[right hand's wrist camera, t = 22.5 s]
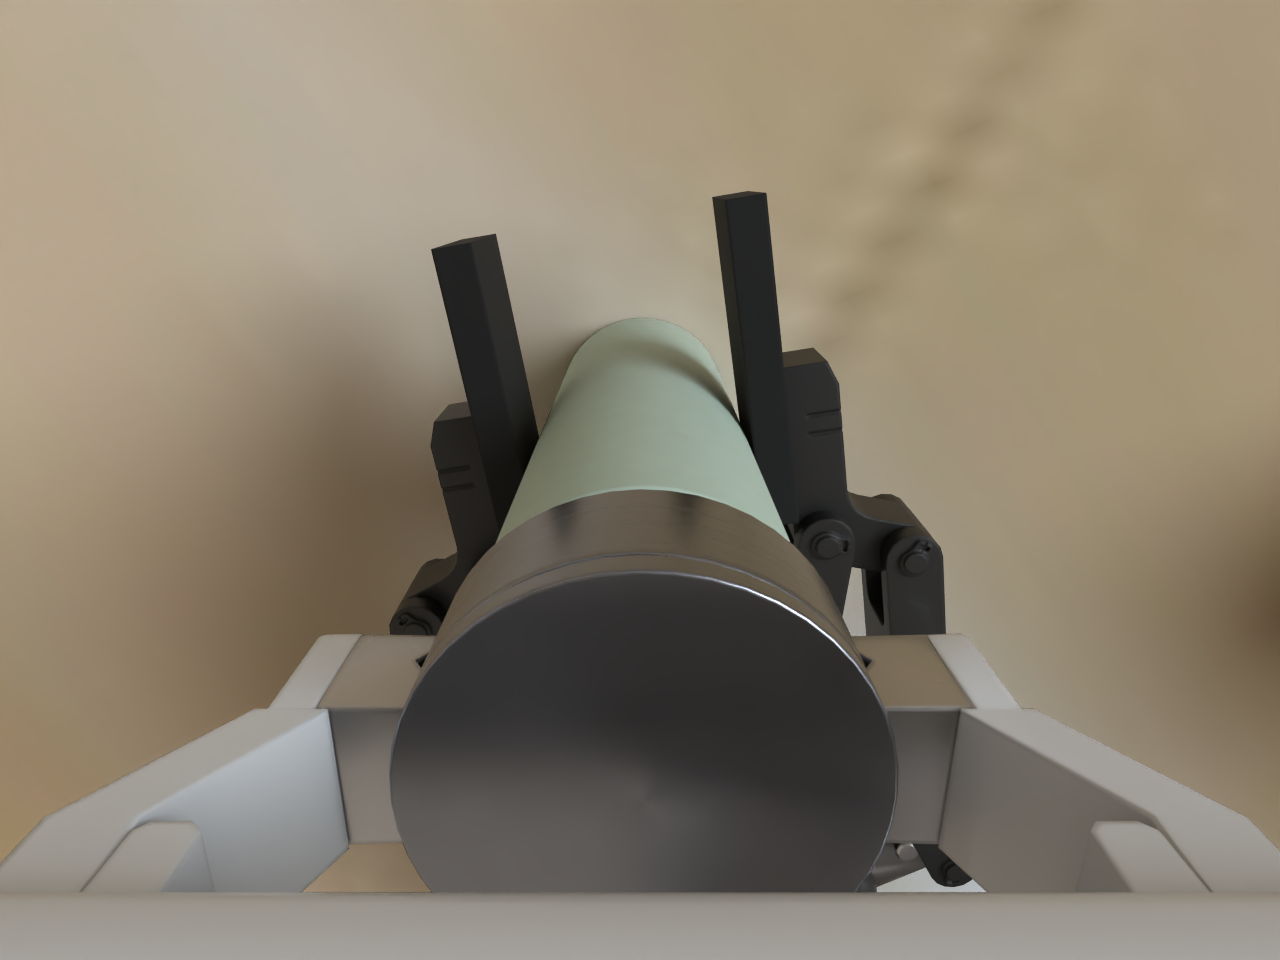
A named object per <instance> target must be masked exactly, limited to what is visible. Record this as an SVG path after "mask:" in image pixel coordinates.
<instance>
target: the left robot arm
mask: <svg viewBox="0 0 1280 960" xmlns="http://www.w3.org/2000/svg"><path fill="white" fill-rule="evenodd" d="M712 198H713V206H714V215H715V223H716V231H717V239H718V247H719V256H720V264H721V272H722V280H723V288H724V297H725V305H726V313H727V321H728V329H729V338H730V346H731V354H732V362H733V370H734V379H735V387H736V395H737V403H738V411H739V420H740V425H741V427H742V429H743V432H744V434H745V436H746V439H747V441H748V444H749V446H750V448H751V451H752V453H753V455H754V458H755V460H756V462H757V465H758V467H759V470H760V472H761V474H762V477H763V479H764V481H765V484H766V486H767V488H768V491H769V493H770V496H771V498H772V500H773V503H774V505H775V507H776V510H777V512H778V514H779V517H780V519H781V522H782V524H783V526H784V529H785V531H786V533H787V536H788V538H789V541H790V543H791V544H793V545H794V546H795V547H796V548H797V549H798V550H799V551H800V552H801V553H802V554H803V556H804V557H805V558H806V559H807V560H808V561H809V562H810V563H811V564H812V565H813V566H814V568H815V569H816V571H817V572H818V574H819V575H820V577H821V578H822V580H823V581H824V582H825V584H826V585H827V587H828V589H829V591H830V593H831V595H832V597H833V599H834V601H835V603H836V605H837V607H838V609H839V611H840V613H841V616H842V615H843V610H844V605H845V599H846V594H847V589H848V584H849V578H850V573H851V568H852V567H855V568H861V571H862V585H863V598H864V611H865V625H866V636H890V635H932V634H946V627H945V598H944V570H943V555H942V551H941V548H940V546H939V545H938V544H937V543H936V541H935V540H934V539H933V538H932V537H931V535H930V534H929V532H928V531H927V530H926V529H925V528H924V526H923V525H922V524H921V523H920V521H919V520H918V519H917V518H916V517H915V515H914V514H913V513H912V512H911V510H910V509H909V508H908V507H907V506H906V505H905V504H904V502H903V501H902V500H901V499H900V498H898V497H896V496H894V495H892V494H880V495H877V496H874V497H867V496H861V495H857V494H853V493H850V492H848V491H847V482H846V469H845V456H844V443H843V432H842V417H841V404H840V391H839V383H838V381H837V379H836V377H835V375H834V373H833V371H832V370H831V368H830V366H829V364H828V362H827V361H826V360H825V359H824V358H823V357H822V356H821V355H820V354H819V353H818V352H817V351H816V350H815V349H814V348H808V349H802V350H795V351H789V352H783V353H782V345H781V335H780V325H779V315H778V305H777V295H776V285H775V275H774V265H773V255H772V245H771V235H770V225H769V215H768V205H767V195H766V193H762V192H751V191H746V192H740V193H734V194H728V195H722V196H716V197H712ZM431 251H432V255H433V259H434V263H435V268H436V272H437V276H438V280H439V284H440V288H441V293H442V297H443V301H444V305H445V309H446V313H447V318H448V322H449V326H450V330H451V334H452V338H453V342H454V347H455V351H456V355H457V359H458V363H459V367H460V372H461V376H462V380H463V384H464V388H465V392H466V397H467V401H468V402H463V403H456V404H450V405H448V407H447V408H446V409H445V410H444V411H443V412H442V414H441V415H440V416H439V417H438V418H437V419H436V421H435V422H434V426H433V433H432V440H431V450H432V454H433V457H434V461H435V465H436V469H437V470H438V476H439V480H440V484H441V488H442V489H443V496H444V499H445V503H446V507H447V511H448V515H449V518H450V522H451V526H452V530H453V534H454V538H455V541H456V545H457V552H456V553H455V554H453V555H451V556H449V557H447V558H445V559H434V560H431V561H428V562H426V563H425V564H424V565H423V566H422V567H421V568H420V570H419V572H418V573H417V575H416V577H415V579H414V580H413V582H412V584H411V586H410V587H409V589H408V591H407V593H406V594H405V596H404V598H403V600H402V601H401V603H400V605H399V607H398V609H397V610H396V612H395V614H394V616H393V618H392V620H391V623H390V635H429V636H437V634H438V631H439V629H440V627H441V625H442V623H443V621H444V618H445V616H446V614H447V612H448V610H449V608H450V605H451V603H452V601H453V599H454V597H455V595H456V593H457V591H458V589H459V588H460V586H461V585H462V583H463V581H464V580H465V578H466V577H467V575H468V574H469V572H470V571H471V569H472V568H473V567H474V566H475V565H476V564H477V562H478V561H479V560H480V559H481V558H482V557H483V555H484V554H485V553H486V552H487V551H488V550H489V549H490V548H491V547H493V546H494V545H495V543H496V541H497V539H498V536H499V534H500V531H501V529H502V527H503V524H504V522H505V519H506V517H507V515H508V512H509V510H510V507H511V505H512V502H513V500H514V498H515V495H516V493H517V490H518V488H519V486H520V483H521V481H522V478H523V476H524V474H525V471H526V469H527V466H528V464H529V461H530V459H531V457H532V454H533V452H534V449H535V447H536V445H537V442H538V440H539V435H538V430H537V425H536V421H535V416H534V411H533V407H532V402H531V397H530V392H529V388H528V383H527V378H526V374H525V369H524V364H523V359H522V355H521V350H520V345H519V341H518V336H517V331H516V327H515V322H514V317H513V312H512V308H511V303H510V298H509V294H508V289H507V284H506V280H505V275H504V270H503V265H502V261H501V256H500V251H499V247H498V242H497V237H496V234H491V235H486V236H480V237H474V238H468V239H462V240H459V241H456V242H453V243H449V244H446V245H443V246H440V247H437V248H434V249H431ZM938 846H939V844H912V843H885V846H884V848H883V850H882V852H881V854H880V856H879V858H878V860H877V862H876V863H875V865H874V867H873V869H872V871H871V873H870V874H869V875H868V877H867V878H866V880H865V881H864V882H863V884H862V885H861V886H860V888H859V889H858V891H857V892H877V889H876V887H878V886H880V885H883V884H885V883H888V882H890V881H893V880H895V879H898V878H900V877H903V876H905V875H908V874H910V873H913V872H915V871H918V870H920V869H923V868H925V867H926V868H927V870H928V872H929V874H930V875H931V877H932V878H933V879H934V881H935V882H936V883H938V884H940V885H943V886H946V887H956V886H960V885H964V884H966V883H967V882H969V881H971V880H972V878H971V877H970V876H969V875H968V874H967V873H966V872H964V871H963V870H962V869H961V868H960V867H959V866H958V865H957V864H956V863H955V862H954V861H952V860H951V859H950V858H949V857H948V856H947V855H946V854H945V853H944V852H943V851H941V850H940V849H939V848H938Z"/></svg>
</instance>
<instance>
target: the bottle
mask: <svg viewBox="0 0 1280 960" xmlns="http://www.w3.org/2000/svg"><path fill="white" fill-rule="evenodd" d="M636 489H645V490H668V491H674V492H680V493H686V494H692V495H698V496H701V497H704V498H708V499H711V500H714V501H718V502H721V503H724V504H727V505H729V506H731V507H734V508H736V509H738V510H740V511H743V512H745V513H747V514H749V515H751V516H753V517H755V518H756V519H758V520H760V521H761V522H763V523H764V524H766V525H768V526H769V527H771V528H773V529H774V530H775V531H777V532H778V533H779V534H780V535H782V536H783V537H784V538H785V539H787V540H788V541H789V538H788V536H787V533H786V531H785V529H784V526H783V524H782V522H781V519H780V517H779V514H778V512H777V510H776V507H775V505H774V503H773V500H772V498H771V496H770V493H769V491H768V488H767V486H766V484H765V481H764V479H763V477H762V474H761V472H760V470H759V467H758V465H757V462H756V460H755V458H754V455H753V453H752V451H751V448H750V446H749V444H748V441H747V439H746V436H745V434H744V432H743V429H742V427H741V425H740V422H739V420H738V417H737V415H736V413H735V410H734V408H733V406H732V403H731V401H730V399H729V396H728V394H727V391H726V389H725V387H724V384H723V382H722V380H721V377H720V375H719V373H718V370H717V368H716V365H715V363H714V361H713V359H712V358H711V356H710V354H709V353H708V351H707V350H706V349H705V347H704V346H703V345H702V344H701V343H700V342H699V341H698V340H697V339H696V338H695V337H694V336H692V335H691V334H690V333H688V332H687V331H686V330H684V329H682V328H680V327H678V326H676V325H674V324H671V323H669V322H666V321H662V320H658V319H650V318H634V319H628V320H623V321H620V322H616V323H613V324H611V325H609V326H607V327H605V328H603V329H601V330H600V331H598V332H596V333H595V334H594V335H592V336H591V337H590V338H589V339H588V340H587V341H586V342H585V343H584V344H583V345H582V346H581V347H580V348H579V350H578V351H577V353H576V354H575V355H574V357H573V359H572V361H571V363H570V365H569V367H568V370H567V372H566V375H565V377H564V379H563V382H562V384H561V387H560V389H559V391H558V394H557V396H556V399H555V401H554V404H553V406H552V408H551V411H550V413H549V416H548V418H547V420H546V423H545V425H544V428H543V430H542V432H541V435H540V437H539V440H538V442H537V445H536V447H535V449H534V452H533V454H532V457H531V459H530V461H529V464H528V466H527V469H526V471H525V474H524V476H523V478H522V481H521V483H520V486H519V488H518V490H517V493H516V495H515V498H514V500H513V502H512V505H511V507H510V510H509V512H508V515H507V517H506V519H505V522H504V524H503V527H502V529H501V531H500V534H499V536H498V539H497V541H496V543H497V542H498V541H499V540H501V539H502V538H503V537H504V536H505V535H506V534H508V533H509V532H511V531H512V530H514V529H515V528H517V527H518V526H520V525H521V524H523V523H524V522H526V521H527V520H529V519H530V518H532V517H534V516H537V515H539V514H541V513H543V512H545V511H547V510H549V509H551V508H553V507H555V506H558V505H561V504H564V503H567V502H570V501H573V500H576V499H578V498H581V497H586V496H591V495H596V494H601V493H606V492H611V491H624V490H636ZM789 542H790V541H789ZM496 543H495V544H496Z"/></svg>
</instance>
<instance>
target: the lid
mask: <svg viewBox="0 0 1280 960" xmlns="http://www.w3.org/2000/svg"><path fill="white" fill-rule="evenodd" d="M898 775H899V765H898V758H897V750H896V743H895V737H894V734H893V731H892V728H891V724H890V721H889V718H888V715H887V712H886V709H885V707H884V705H883V703H882V701H881V699H880V697H879V695H878V692H877V690H876V688H875V686H874V684H873V682H872V680H871V677H870V675H869V673H868V671H867V669H866V667H865V665H864V662H863V660H862V658H861V656H860V654H859V652H858V650H857V648H856V645H855V643H854V641H853V639H852V637H851V635H850V633H849V631H848V628H847V626H846V624H845V622H844V620H843V618H842V616H841V613H840V611H839V609H838V607H837V605H836V603H835V601H834V599H833V597H832V595H831V593H830V591H829V589H828V587H827V585H826V584H825V582H824V581H823V580H822V578H821V577H820V575H819V574H818V572H817V571H816V569H815V568H814V566H813V565H812V564H811V563H810V562H809V561H808V560H807V559H806V558H805V557H804V556H803V554H802V553H801V552H800V551H799V550H798V549H797V548H796V547H795V546H794V545H793V544H791V543H790V542H789V541H788V540H787V539H785V538H784V537H783V536H782V535H780V534H779V533H778V532H777V531H775V530H774V529H773V528H771V527H769V526H768V525H766V524H764V523H763V522H761V521H760V520H758V519H756V518H755V517H753V516H751V515H749V514H747V513H745V512H743V511H740V510H738V509H736V508H734V507H731V506H729V505H727V504H724V503H721V502H718V501H714V500H711V499H708V498H704V497H701V496H698V495H692V494H686V493H680V492H674V491H668V490H645V489H636V490H624V491H611V492H606V493H601V494H596V495H591V496H586V497H581V498H578V499H576V500H573V501H570V502H567V503H564V504H561V505H558V506H555V507H553V508H551V509H549V510H547V511H545V512H543V513H541V514H539V515H537V516H534V517H532V518H530V519H529V520H527V521H526V522H524V523H523V524H521V525H520V526H518V527H517V528H515V529H514V530H512V531H511V532H509V533H508V534H506V535H505V536H504V537H503V538H502V539H501V540H499V541H498V542H497V543H496V544H495V545H494V546H493V547H491V548H490V549H489V550H488V551H487V552H486V553H485V554H484V555H483V557H482V558H481V559H480V560H479V561H478V562H477V564H476V565H475V566H474V567H473V568H472V569H471V571H470V572H469V574H468V575H467V577H466V578H465V580H464V581H463V583H462V585H461V586H460V588H459V589H458V591H457V593H456V595H455V597H454V599H453V601H452V603H451V605H450V608H449V610H448V612H447V614H446V616H445V618H444V621H443V623H442V625H441V627H440V629H439V631H438V634H437V636H436V638H435V640H434V642H433V644H432V647H431V649H430V651H429V653H428V655H427V657H426V660H425V662H424V664H423V666H422V668H421V670H420V673H419V675H418V677H417V679H416V681H415V683H414V685H413V688H412V690H411V692H410V694H409V697H408V699H407V701H406V703H405V706H404V708H403V710H402V713H401V715H400V717H399V720H398V723H397V727H396V731H395V735H394V739H393V743H392V747H391V758H390V769H389V780H390V794H391V804H392V808H393V812H394V817H395V821H396V825H397V830H398V832H399V835H400V837H401V840H402V842H403V845H404V847H405V850H406V852H407V855H408V856H409V858H410V860H411V861H412V863H413V865H414V867H415V868H416V870H417V872H418V873H419V875H420V877H421V879H422V880H423V881H424V882H425V884H426V885H427V886H428V887H429V889H430V890H431V891H432V892H857V891H858V889H859V888H860V886H861V885H862V884H863V882H864V881H865V880H866V878H867V877H868V875H869V874H870V873H871V871H872V869H873V867H874V865H875V863H876V862H877V860H878V858H879V856H880V854H881V852H882V850H883V848H884V846H885V843H886V840H887V837H888V834H889V831H890V829H891V826H892V823H893V818H894V813H895V807H896V802H897V797H898Z"/></svg>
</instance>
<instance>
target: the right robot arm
mask: <svg viewBox="0 0 1280 960" xmlns="http://www.w3.org/2000/svg"><path fill="white" fill-rule="evenodd" d="M851 637H852V639H853V641H854V643H855V645H856V648H857V650H858V652H859V654H860V656H861V658H862V660H863V662H864V665H865V667H866V669H867V671H868V673H869V675H870V677H871V680H872V682H873V684H874V686H875V688H876V690H877V692H878V695H879V697H880V699H881V701H882V703H883V705H884V707H885V709H886V712H887V715H888V718H889V721H890V724H891V728H892V731H893V734H894V737H895V743H896V750H897V758H898V765H899V775H898V797H897V802H896V807H895V813H894V818H893V823H892V826H891V829H890V831H889V834H888V837H887V840H886V843H912V844H939V846H938V848H939V849H940V850H941V851H943V852H944V853H945V854H946V855H947V856H948V857H949V858H950V859H951V860H952V861H954V862H955V863H956V864H957V865H958V866H959V867H960V868H961V869H962V870H963V871H964V872H966V873H967V874H968V875H969V876H970V877H971V878H972V879H973V880H974V881H975V882H976V883H978V884H979V885H980V886H981V887H982V888H983V889H984V890H985V891H986V892H302V891H303V890H304V889H305V888H307V887H308V886H309V885H310V884H311V883H312V882H313V881H314V880H315V879H316V878H317V877H319V876H320V875H321V874H322V873H323V872H324V871H325V870H326V869H327V868H328V867H329V866H330V865H332V864H333V863H334V862H335V861H336V860H337V859H338V858H339V857H340V856H341V855H342V854H344V853H345V852H346V851H347V850H348V849H349V844H375V843H403V842H402V840H401V837H400V835H399V832H398V830H397V825H396V821H395V817H394V812H393V808H392V804H391V794H390V780H389V769H390V758H391V747H392V743H393V739H394V735H395V731H396V727H397V723H398V720H399V717H400V715H401V713H402V710H403V708H404V706H405V703H406V701H407V699H408V697H409V694H410V692H411V690H412V688H413V685H414V683H415V681H416V679H417V677H418V675H419V673H420V670H421V668H422V666H423V664H424V662H425V660H426V657H427V655H428V653H429V651H430V649H431V647H432V644H433V642H434V640H435V638H436V636H429V635H378V634H366V635H363V634H326V635H322V636H319V638H318V639H317V640H316V641H315V643H314V644H313V645H312V647H311V648H310V650H309V651H308V652H307V654H306V655H305V657H304V658H303V659H302V661H301V662H300V664H299V665H298V666H297V668H296V669H295V671H294V672H293V673H292V675H291V676H290V678H289V679H288V680H287V682H286V683H285V685H284V686H283V687H282V689H281V690H280V692H279V693H278V694H277V696H276V697H275V699H274V700H273V701H272V703H271V704H270V706H269V707H268V708H267V709H253V710H251V711H249V712H247V713H245V714H243V715H241V716H239V717H238V718H236V719H234V720H232V721H230V722H228V723H226V724H224V725H222V726H220V727H218V728H216V729H214V730H212V731H210V732H208V733H207V734H205V735H203V736H201V737H199V738H197V739H195V740H193V741H191V742H189V743H187V744H185V745H183V746H181V747H179V748H177V749H176V750H174V751H172V752H170V753H168V754H166V755H164V756H162V757H160V758H158V759H156V760H154V761H152V762H150V763H148V764H146V765H144V766H143V767H141V768H139V769H137V770H135V771H133V772H131V773H129V774H127V775H125V776H123V777H121V778H119V779H117V780H115V781H113V782H112V783H110V784H108V785H106V786H104V787H102V788H100V789H98V790H96V791H94V792H92V793H90V794H88V795H86V796H84V797H82V798H81V799H79V800H77V801H75V802H73V803H71V804H69V805H67V806H65V807H63V808H61V809H59V810H57V811H55V812H53V813H51V814H49V815H48V816H46V817H44V818H43V819H42V820H41V821H40V822H39V823H38V824H37V825H36V826H35V827H34V828H33V829H32V830H31V831H30V832H29V833H28V835H27V836H26V837H25V838H24V839H23V840H22V841H21V842H20V843H19V844H18V845H17V846H16V847H15V848H14V849H13V850H12V851H11V853H10V854H9V855H8V856H7V857H6V858H5V859H4V860H3V861H2V862H1V863H0V960H1280V851H1279V850H1278V849H1277V848H1276V847H1275V846H1274V845H1273V844H1272V843H1271V842H1270V841H1269V840H1268V839H1267V838H1266V837H1265V836H1264V834H1263V833H1262V832H1261V831H1260V830H1259V829H1258V828H1257V827H1256V826H1255V825H1254V824H1253V823H1252V822H1251V821H1250V820H1249V819H1248V818H1246V817H1244V816H1242V815H1240V814H1238V813H1236V812H1234V811H1232V810H1230V809H1228V808H1226V807H1225V806H1223V805H1221V804H1219V803H1217V802H1215V801H1213V800H1211V799H1209V798H1207V797H1205V796H1203V795H1201V794H1199V793H1197V792H1195V791H1193V790H1191V789H1189V788H1187V787H1185V786H1184V785H1182V784H1180V783H1178V782H1176V781H1174V780H1172V779H1170V778H1168V777H1166V776H1164V775H1162V774H1160V773H1158V772H1156V771H1154V770H1152V769H1150V768H1148V767H1146V766H1145V765H1143V764H1141V763H1139V762H1137V761H1135V760H1133V759H1131V758H1129V757H1127V756H1125V755H1123V754H1121V753H1119V752H1117V751H1115V750H1113V749H1111V748H1109V747H1107V746H1106V745H1104V744H1102V743H1100V742H1098V741H1096V740H1094V739H1092V738H1090V737H1088V736H1086V735H1084V734H1082V733H1080V732H1078V731H1076V730H1074V729H1072V728H1070V727H1068V726H1066V725H1065V724H1063V723H1061V722H1059V721H1057V720H1055V719H1053V718H1051V717H1049V716H1047V715H1045V714H1043V713H1041V712H1039V711H1037V710H1035V709H1021V708H1020V707H1019V705H1018V704H1017V703H1016V701H1015V700H1014V698H1013V697H1012V696H1011V694H1010V693H1009V692H1008V690H1007V689H1006V688H1005V686H1004V685H1003V684H1002V682H1001V681H1000V679H999V678H998V677H997V675H996V674H995V673H994V671H993V670H992V669H991V667H990V666H989V665H988V663H987V662H986V661H985V659H984V658H983V656H982V655H981V654H980V652H979V651H978V650H977V648H976V647H975V646H974V644H973V643H972V642H971V640H970V639H969V637H967V636H965V635H963V634H961V633H956V634H932V635H890V636H851Z"/></svg>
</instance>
